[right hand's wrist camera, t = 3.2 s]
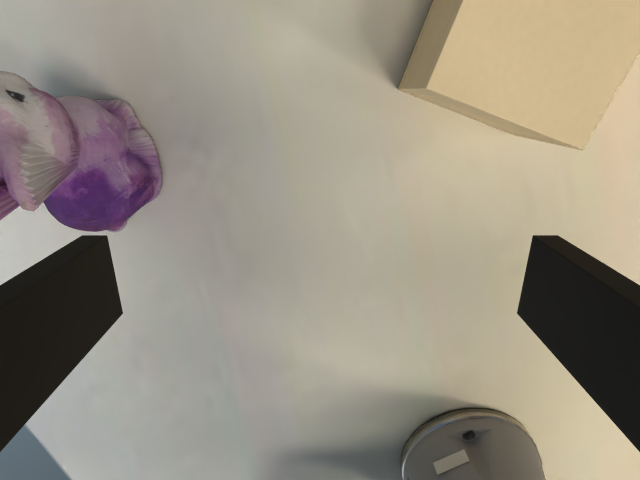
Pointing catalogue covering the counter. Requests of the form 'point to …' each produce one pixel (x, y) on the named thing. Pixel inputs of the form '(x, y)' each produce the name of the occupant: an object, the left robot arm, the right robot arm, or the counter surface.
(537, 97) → the cabinet
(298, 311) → the counter surface
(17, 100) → the figurine
